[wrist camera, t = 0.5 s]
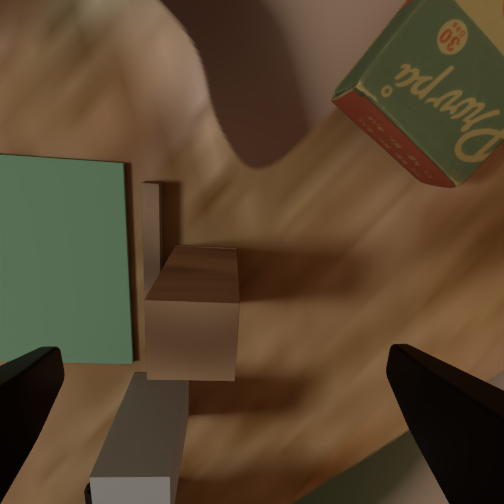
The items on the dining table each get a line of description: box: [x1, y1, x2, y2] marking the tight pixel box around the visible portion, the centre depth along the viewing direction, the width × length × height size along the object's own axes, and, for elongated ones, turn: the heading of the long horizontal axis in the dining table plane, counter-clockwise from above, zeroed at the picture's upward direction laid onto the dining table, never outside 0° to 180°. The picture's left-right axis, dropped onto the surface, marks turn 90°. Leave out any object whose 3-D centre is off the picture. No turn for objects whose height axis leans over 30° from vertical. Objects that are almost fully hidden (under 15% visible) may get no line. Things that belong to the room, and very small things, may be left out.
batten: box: [141, 181, 163, 298], centre depth 21 cm, size 12×1×1 cm, turn 176°
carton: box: [331, 0, 504, 188], centre depth 17 cm, size 8×16×4 cm, turn 142°
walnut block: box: [144, 245, 240, 381], centre depth 18 cm, size 4×4×8 cm
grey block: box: [89, 372, 189, 504], centre depth 21 cm, size 4×4×8 cm
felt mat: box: [0, 154, 134, 364], centre depth 21 cm, size 14×12×1 cm
